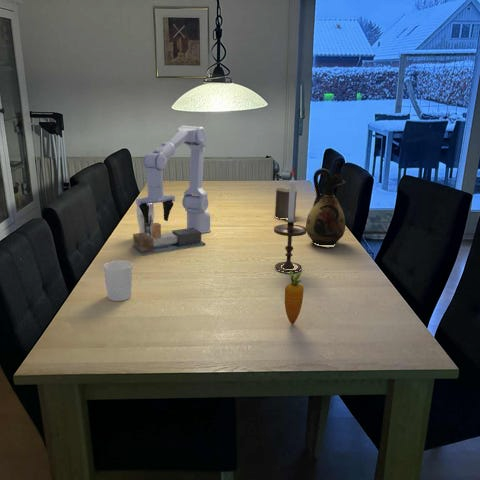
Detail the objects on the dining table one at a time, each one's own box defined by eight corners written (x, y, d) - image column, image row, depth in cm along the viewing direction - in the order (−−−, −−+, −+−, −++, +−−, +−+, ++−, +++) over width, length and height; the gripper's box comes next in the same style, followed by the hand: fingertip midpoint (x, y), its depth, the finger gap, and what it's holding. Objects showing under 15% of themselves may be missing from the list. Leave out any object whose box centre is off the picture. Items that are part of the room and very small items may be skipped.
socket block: (144, 243, 193) (144, 232, 192) (153, 250, 186) (153, 238, 185) (133, 245, 191) (133, 234, 190) (142, 252, 184) (141, 240, 182)
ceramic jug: (347, 242, 204) (354, 168, 195) (338, 252, 190) (344, 174, 181) (307, 236, 211) (312, 164, 202) (295, 246, 197) (300, 170, 188)
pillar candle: (272, 218, 236) (273, 187, 231) (278, 214, 245) (280, 183, 240) (291, 221, 233) (294, 189, 228) (297, 216, 241) (299, 185, 237)
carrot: (281, 320, 136) (284, 267, 131) (299, 319, 136) (302, 267, 132) (284, 328, 131) (287, 274, 126) (303, 328, 131) (306, 274, 127)
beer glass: (151, 241, 199) (150, 204, 194) (134, 240, 200) (133, 203, 195) (157, 236, 205) (156, 200, 201) (141, 235, 206) (140, 199, 202)
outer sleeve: (192, 237, 205) (192, 225, 204) (205, 245, 196) (205, 232, 195) (131, 247, 192) (130, 234, 190) (142, 255, 183) (141, 242, 182)
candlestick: (283, 276, 166) (288, 171, 156) (266, 266, 175) (270, 165, 165) (310, 271, 171) (317, 169, 160) (292, 261, 180) (298, 164, 170)
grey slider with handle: (178, 239, 198) (178, 219, 195) (182, 241, 194) (182, 222, 192) (139, 245, 190) (138, 224, 187) (143, 248, 186) (142, 227, 184)
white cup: (138, 293, 150) (136, 262, 147) (124, 304, 143) (122, 271, 140) (115, 289, 153) (113, 258, 150) (100, 299, 146) (98, 267, 143)
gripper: (140, 189, 178) (141, 226, 182) (178, 186, 185) (178, 221, 189) (133, 186, 183) (135, 222, 187) (170, 182, 191) (170, 217, 195)
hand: (156, 221), depth 189 cm, fingers open, 7 cm apart
